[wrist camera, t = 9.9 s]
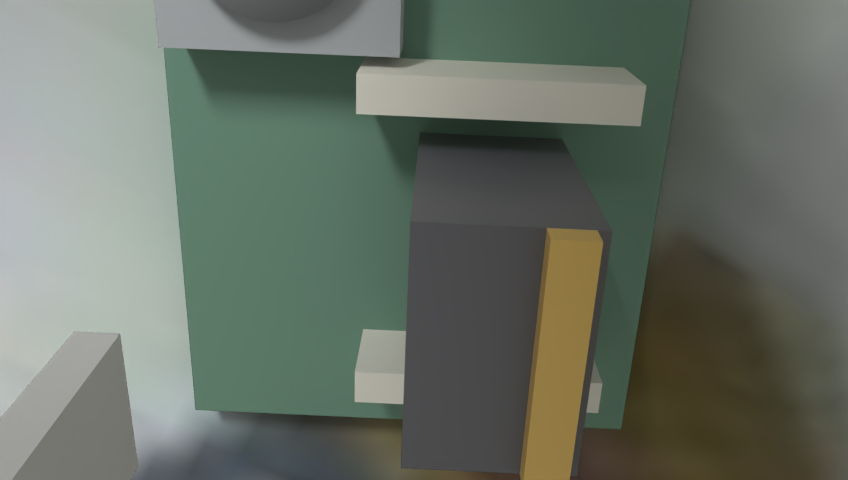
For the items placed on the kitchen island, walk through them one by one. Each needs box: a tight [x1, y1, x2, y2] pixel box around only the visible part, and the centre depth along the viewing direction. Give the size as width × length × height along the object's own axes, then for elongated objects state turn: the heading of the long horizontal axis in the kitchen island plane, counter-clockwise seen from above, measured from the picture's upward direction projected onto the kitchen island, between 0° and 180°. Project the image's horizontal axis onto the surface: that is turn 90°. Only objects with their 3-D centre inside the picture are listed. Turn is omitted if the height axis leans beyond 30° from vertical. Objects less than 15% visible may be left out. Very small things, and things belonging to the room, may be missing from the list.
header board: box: [154, 0, 691, 429], centre depth 21 cm, size 18×14×4 cm
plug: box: [401, 132, 613, 480], centre depth 19 cm, size 6×4×8 cm, turn 178°
